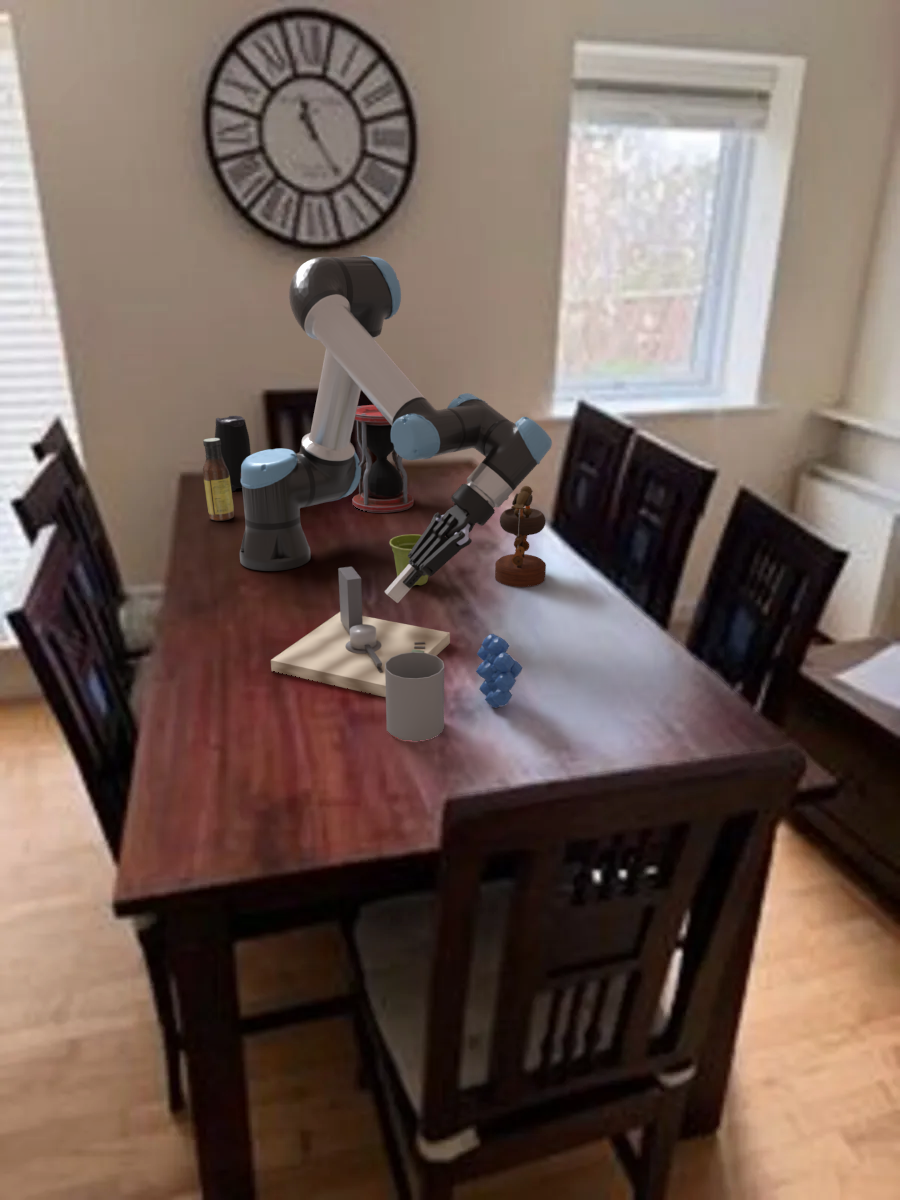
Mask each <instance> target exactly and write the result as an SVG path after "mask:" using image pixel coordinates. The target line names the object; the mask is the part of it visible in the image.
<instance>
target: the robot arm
mask: <svg viewBox="0 0 900 1200" xmlns="http://www.w3.org/2000/svg"><path fill="white" fill-rule="evenodd" d="M395 271H396V270H395V269H394V268H393V266H392V265H391V264H390V263H389V262H388V261H386V260H385V259H383V258H381V257H376V256H368V255H360V256H320V257H319V256H318V257H313V258H311V259H309V260H307V261H306V262H304V263H302V264H301V265H300V266H299V267H298V268H297V269H296V271H295V272H294V274H293V276H292V278H291V281H290V285H289V291H288V293H289V294H288V298H289V305H290V309H291V312H292V315H293V317H294V319H295V320H296V322H297V323H298V325H299V326H300V328H301V329H302V330H303V331H304V333H305V334H306V335H307V336H308V337H309V338H311V339H313V340H316V341H319V342H320V344H322V345H323V346H324V348H325V352H324V356H323V364H322V368H321V373H320V380H319V383H318V384H319V385H318V391H317V396H316V402H315V407H314V411H313V412H314V413H313V417H312V422H311V429H310V432H309V433H307V434H305V435H304V436H303V437H302V439H301V443H300V448H299V452H297V453H296V452H295V451H294V450H292V449H289V448H273V449H271V448H269V449H264V450H260V451H257V452H253V453H251V455H250V456H248V457H247V458H246V459H245V460H244V461H243V463H242V466H241V484H242V489H241V490H242V498H243V499H242V500H243V510H244V519H245V520H244V521H245V529H244V532H243V537H242V541H241V545H240V550H239V560H240V561H239V562H240V564H241V565H242V566H243V567H245V568H247V569H250V570H253V571H262V572H277V571H279V572H281V571H287V570H293V569H295V568H298V567H299V568H300V567H301V566H303V565H306V564H307V563H309V561H310V560H311V547H310V544H309V543H308V541H307V537H306V534H305V533H304V532H305V531H304V530H303V526H302V525H301V511H300V509H301V508H306V507H307V508H308V507H311V506H314V505H319V504H323V503H328V502H334V501H338V500H341V499H342V498H346V497H348V496H349V495H351V494H353V492H354V491H355V490H356V489H357V488H358V487H359V481H360V476H361V467H360V466H359V465H360V463H361V462H360V459H359V456H358V455H357V453H356V450H355V447H354V445H353V443H351V437H352V432H353V429H354V424H355V420H354V419H355V415H356V410H357V406H359V399H360V395H361V392H363V394H364V395H365V396H366V397H367V398H368V400H369V401H370V402H371V403H372V405H375V407H376V408H377V409H378V410H379V411H380V412H381V414H382V415H383V416H384V417H385V418H386V420H387V421H388V422H389V423H390V424H391V425H392V428H391V442H392V443H393V444H394V450H395V451H396V453H397V456H398V455H399V456H400V457H402V459H404V460H406V461H417V460H428V459H431V458H433V457H438V456H441V455H445V454H451V453H456V452H460V451H465V450H469V449H475V450H476V451H477V452H479V453H480V454H481V455H483V456H484V459H483V460H482V461H481V462H480V463H478V465H477V466H476V468H474V469H473V471H472V472H471V473H470V474H469V476H468V477H467V478H466V481H467V482H466V483H462V484H460V486H458V488H457V490H455V491H454V493H453V494H452V495H451V497H450V499H451V501H452V502H453V505H452V507H450V508H449V509H447V510H446V512H445V513H444V514H442V515H441V514H440V513H439V512H436V513H434V515H433V517H432V519H431V522H430V523H429V524H428V526H427V527H426V529H425V530H424V531H423V533H422V534H421V535H422V536H421V537H420V539H419V540H418V541H417V543H416V544H415V546H414V547H413V548H412V550H411V551H410V553H409V554H408V557H409V558H410V560H409V564H408V566H407V567H406V568H405V569H404V570H403V571H402V572H401V573H400V575H399V576H398V577H397V576H396V578H395V579H394V580H393V581H392V582H391V583H390V584H389V586H388V587H387V588H386V589H385V590H384V593H385V594H386V595H387V596H388V597H390V599H391V600H393V601H394V602H395V603H397V604H398V603H399V602H400V601H401V600H402V599H403V598H404V597H405V596H406V595H407V594H408V592H410V590H411V589H412V588H413V587H414V586H415V585H414V584H415V583H416V582H417V581H418V580H419V579H420V577H421V576H422V575H423V576H425V575H428V578H429V577H432V576H434V575H435V573H437V572H438V571H439V570H441V568H442V567H443V566H445V564H447V563H448V562H449V561H450V560H451V559H452V558H454V557H455V555H457V554H458V553H459V552H460V551H461V550H462V549H464V548H466V547H467V546H469V545H471V544H472V539H471V538H470V537H469V533H470V532H471V531H472V530H473V528H474V527H475V526H476V524H477V525H479V526H484V525H486V524H487V522H488V521H489V520H490V519H491V518H492V517H493V516H494V515H495V513H496V512H495V511H496V509H494V508H500V507H501V506H502V505H503V503H504V502H506V501H507V500H509V497H510V496H511V495H512V493H513V492H514V491H515V490H516V489H517V487H518V486H519V485H520V484H521V483H522V482H523V481H524V480H525V479H526V478H527V477H528V475H529V474H530V473H532V471H533V470H534V469H535V467H537V465H539V464H540V463H541V461H542V460H543V459H544V457H545V456H546V455H547V453H548V452H549V451H550V449H551V448H552V447H553V441H552V439H551V436H550V435H549V434H548V432H547V431H546V430H545V429H544V428H543V427H542V426H540V424H538V423H537V422H536V421H535V420H533V419H531V418H529V417H527V416H522V417H520V418H519V419H518V420H517V421H515V422H513V421H511V420H510V419H508V418H507V417H505V416H504V415H503V414H501V413H500V412H499V411H498V410H496V409H495V408H494V407H492V406H491V405H489V403H488V402H486V401H485V400H483V399H481V398H479V397H477V396H475V395H474V394H472V393H469V392H467V393H464V392H463V393H461V394H459V395H458V397H456V398H455V397H454V398H453V399H452V400H451V402H450V403H449V405H448V406H447V408H443V409H436V408H435V407H434V406H433V405H432V404H431V403H430V401H429V400H428V399H426V397H425V396H424V395H423V394H422V392H421V391H420V390H419V389H418V388H417V387H416V386H415V384H413V382H412V381H411V380H410V379H409V377H407V375H406V374H405V372H403V371H402V369H401V368H400V367H399V366H398V365H397V364H396V363H395V362H394V360H393V359H392V358H391V357H390V356H389V355H388V353H387V352H386V351H385V350H384V349H383V348H382V346H381V345H380V344H379V342H377V340H376V339H377V338H379V337H380V336H381V335H382V330H383V325H384V321H385V320H390V318H392V317H393V316H395V315H396V314H397V313H398V311H399V309H400V307H401V301H402V300H401V299H402V290H401V285H400V280H399V279H398V276H397V273H396V272H395ZM413 585H414V586H413Z"/></svg>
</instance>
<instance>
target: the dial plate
mask: <svg viewBox="0 0 900 1200" xmlns="http://www.w3.org/2000/svg"><path fill="white" fill-rule="evenodd" d="M362 619H363V624H367V625H372V626H374V627H375V628H376V646H374V647H373V648H372V649H373V651H374V652H375V654H376V655H377V656H378V658H379V659H380V661H381V662H382V666H381V667H377V666H376V665H375V663H374V662H373V660H372V659H371V657H370V656H369V654H368V653H367V651H366V650H365V649H355V648H353V647H351V645H350V634H349V633H348V631H347V630H346V628H345V627H344V625H343V624H342V622H341V617H340V611H339V612H337V613H336V614H335V615H334V616H332V617H331V618H329V619H327V620H326V621H325V622H323V623H322V624H321V625H319V626H318V627H316V628H315V629H313V630H311V631H310V632H309V633H308V634H305V636H303V637H302V638H300V639H299V640H297V641H296V642H295V643H293V644H292V645H290V646H289V647H287V648H286V649H285V650H283V651H282V652H281V653H279V654H277V655H275V656H274V657H273V658H272V659H270V668H271V672H273V671H275V672H274V673H278V672H279V673H278V674H282V673H283V675H286V674H287V676H291V675H292V676H291V677H295V676H296V678H299V677H300V679H305V680H308V679H309V680H308V681H312V680H313V681H314V682H317V681H318V683H321V682H322V684H326V685H331V686H334V685H335V687H339V688H343V689H347V688H348V689H349V690H352V691H357V692H361V691H362V692H361V693H365V692H366V693H365V694H369V693H371V694H370V695H375V696H378V697H384V698H386V679H385V663H386V662H387V661H388V660H389V659H390V658H391V657H393V656H396V655H399V654H402V653H410V652H420V653H428V654H431V655H435V656H437V657H438V655H439V654H441V652H442V651H443V650H444V649H445V648H446V647H447V646H449V644H450V642H451V632H448V631H443V630H437V629H432V628H427V627H423V626H417V625H412V624H406V623H402V622H396V621H391V620H386V619H380V618H375V617H369V616H365V615H362ZM313 681H312V682H313ZM348 689H347V690H348Z"/></svg>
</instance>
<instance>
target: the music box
mask: <svg viewBox="0 0 900 1200" xmlns="http://www.w3.org/2000/svg"><path fill="white" fill-rule="evenodd" d="M533 492H534V491H533V490H532V488H531V487H530V486H529V485H524V486H522V487H521V488H520V492H518V493H516V494H515V496H514V498H513V500H512V502H511V503H512V504H511V505H512V506H510V507H511V508H508V509H505V510H504V511H503V512H502V513H501V514H500V517H499V525H500V527H501V528H502V530H503V531H504V532H506V533H507V534H511V535H514V536H515V537H514V538H515V539H514V542H513V547H514V548H515V552H514V553H513V554H506V555H503V556H501V557H499V559H497V560H496V561H495V565H494V567H495V569H494V579H495V580H496V581H497V582H498V583H499V584H502V585H505V586H508V587H514V588H530V587H536V586H539V585H541V584H543V583H544V582H545V581H546V572H547V569H546V568H547V564H546V562H545V561H544V560H543V559H542V558H540V557H539V556H535V555H532V554H525V552H527V551H528V550H529V549H530V542H528V540H527V539H528V536H531V535H536V534H539V533H540V532H541V531H543V529H544V528H545V526H546V517H545V514H544V513H543V512H542V511H541V510H539V509H536V508H532V507H531V504H532V503H533V495H532V494H533Z"/></svg>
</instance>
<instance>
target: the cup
mask: <svg viewBox="0 0 900 1200" xmlns="http://www.w3.org/2000/svg"><path fill="white" fill-rule="evenodd" d="M385 679H386V697H385V707H386V708H385V709H386V711H385V713H386V715H385V716H386V720H385V721H386V732H387V731H388V732H389V733H390V734H391V735H393V736H395V737H398V738H399V739H402V740H412V741H420V740H426V739H431V738H433V737H435V736H437V735H439V734H440V733H441V734H442V733H443V731H444V730H443V729H445V664H444V661H443V660H442V659H441V658H440V657H438V655H437V656H435V655H431V654H428V653H420V652H410V653H402V654H399V655H396V656H393V657H391V658H390V659H389V660H388V661H387V662H386V663H385ZM442 730H443V731H442ZM388 732H387V733H388ZM389 733H388V734H389ZM390 734H389V735H390ZM441 734H440V735H441ZM391 735H390V736H391ZM440 735H439V736H440ZM437 737H438V736H437ZM435 738H436V737H435ZM399 739H398V740H399ZM433 739H434V738H433ZM431 740H432V739H431Z"/></svg>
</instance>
